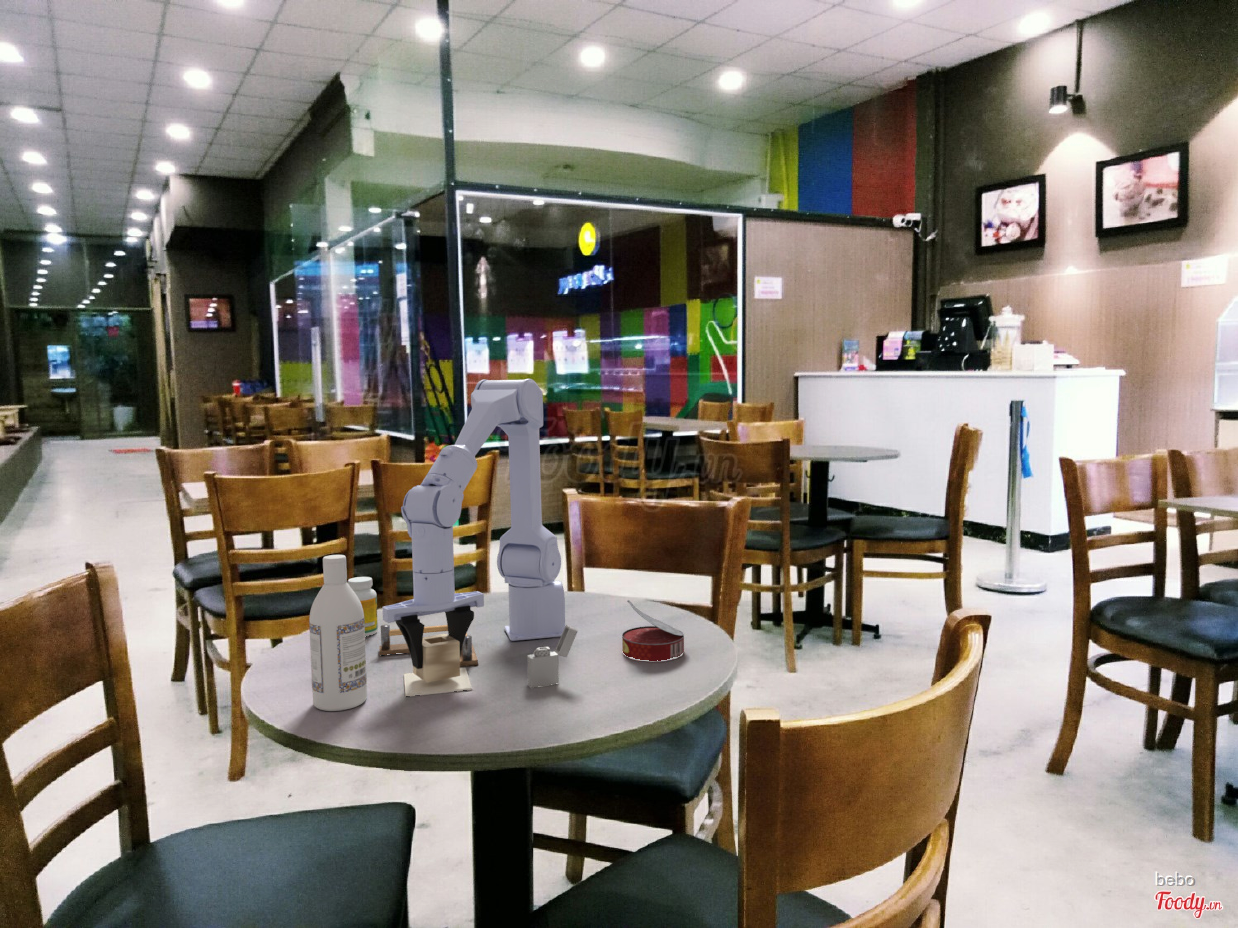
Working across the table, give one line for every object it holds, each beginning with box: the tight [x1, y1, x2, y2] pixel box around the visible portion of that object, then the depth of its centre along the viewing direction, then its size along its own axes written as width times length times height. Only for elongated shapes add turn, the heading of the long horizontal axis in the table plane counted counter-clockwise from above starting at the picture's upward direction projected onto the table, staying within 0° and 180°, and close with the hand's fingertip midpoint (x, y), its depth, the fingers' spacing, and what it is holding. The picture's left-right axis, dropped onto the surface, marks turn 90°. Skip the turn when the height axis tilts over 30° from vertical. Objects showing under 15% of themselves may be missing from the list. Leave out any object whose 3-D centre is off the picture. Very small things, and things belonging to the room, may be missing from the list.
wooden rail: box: [378, 624, 479, 668], centre depth 131 cm, size 14×12×4 cm
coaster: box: [403, 667, 473, 698], centre depth 120 cm, size 9×9×1 cm
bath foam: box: [308, 554, 368, 712], centre depth 112 cm, size 7×7×20 cm
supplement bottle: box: [347, 576, 379, 637], centre depth 144 cm, size 5×5×10 cm
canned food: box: [621, 599, 685, 661], centre depth 133 cm, size 11×10×10 cm
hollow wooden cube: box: [412, 633, 461, 683], centre depth 120 cm, size 5×5×5 cm
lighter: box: [526, 624, 579, 689], centre depth 119 cm, size 7×2×8 cm, turn 113°
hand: (436, 662), depth 120 cm, fingers closed on hollow wooden cube, 5 cm apart
